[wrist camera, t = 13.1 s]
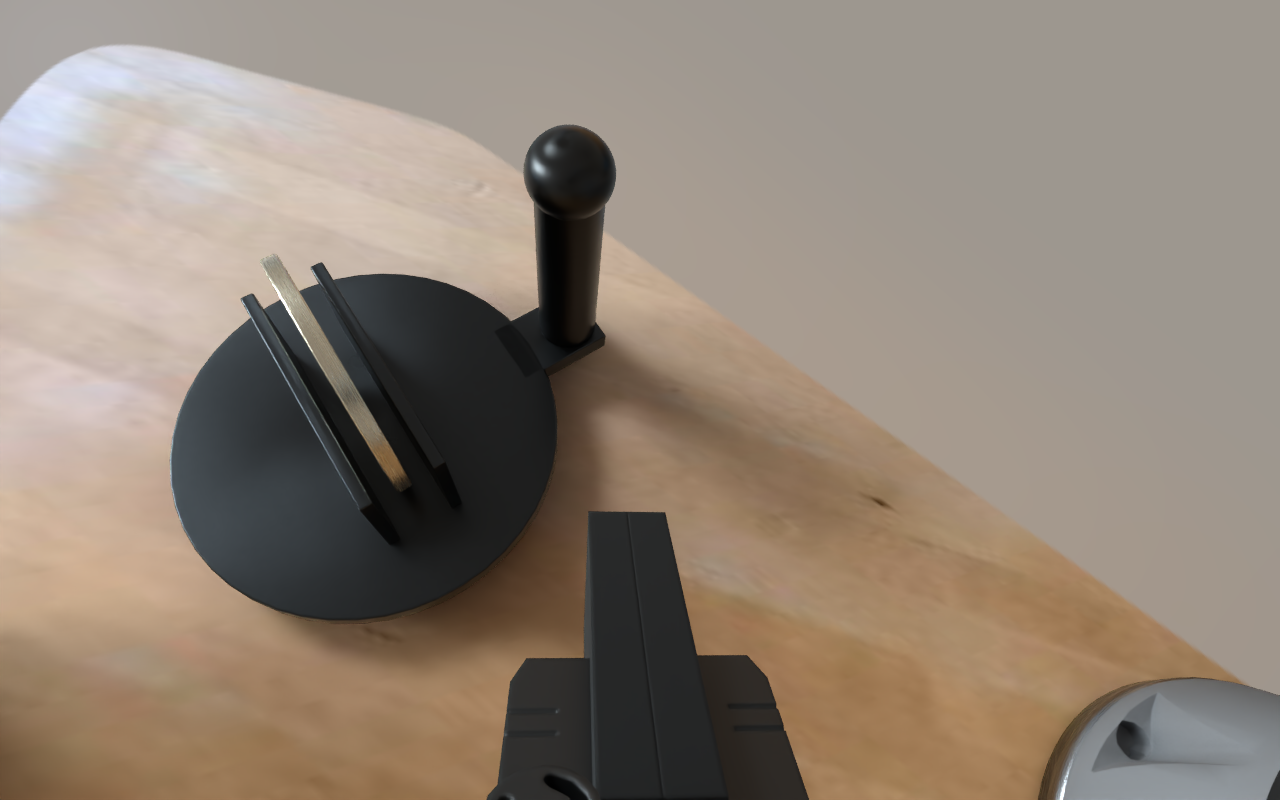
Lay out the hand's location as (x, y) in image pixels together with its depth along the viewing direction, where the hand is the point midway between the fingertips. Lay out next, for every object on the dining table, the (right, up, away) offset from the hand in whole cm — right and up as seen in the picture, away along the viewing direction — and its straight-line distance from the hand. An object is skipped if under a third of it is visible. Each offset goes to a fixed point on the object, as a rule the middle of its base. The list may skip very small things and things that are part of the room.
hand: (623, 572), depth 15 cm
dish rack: (-10, +3, +19) cm, 21 cm away
